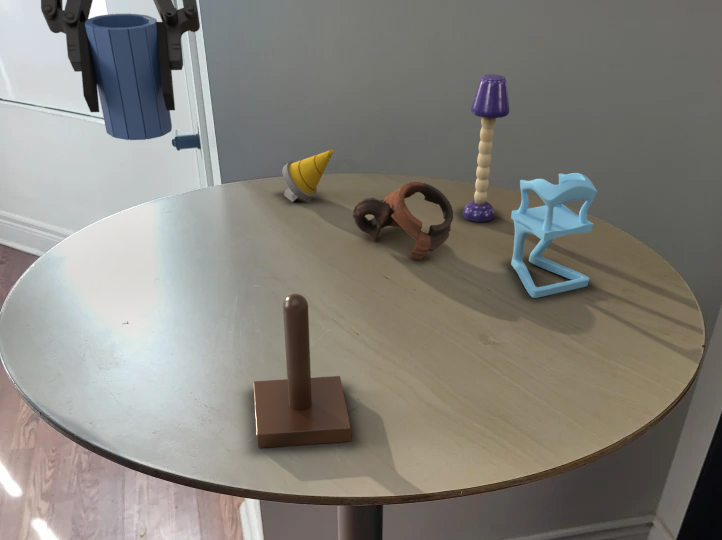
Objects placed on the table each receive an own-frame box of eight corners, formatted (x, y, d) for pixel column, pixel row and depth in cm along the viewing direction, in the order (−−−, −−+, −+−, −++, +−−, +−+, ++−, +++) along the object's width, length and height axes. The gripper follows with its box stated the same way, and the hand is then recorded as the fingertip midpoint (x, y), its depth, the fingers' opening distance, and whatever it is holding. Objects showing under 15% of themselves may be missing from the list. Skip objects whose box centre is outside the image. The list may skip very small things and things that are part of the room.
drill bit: (296, 189, 110) (345, 144, 104) (300, 218, 108) (351, 175, 102) (267, 170, 106) (316, 123, 100) (270, 201, 104) (321, 155, 98)
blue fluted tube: (104, 141, 72) (81, 29, 65) (110, 120, 76) (89, 13, 70) (170, 139, 72) (154, 28, 66) (172, 118, 77) (157, 13, 71)
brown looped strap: (421, 225, 102) (450, 179, 95) (435, 284, 98) (467, 241, 92) (336, 212, 96) (361, 162, 90) (349, 274, 93) (375, 228, 86)
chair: (547, 256, 95) (566, 154, 87) (589, 286, 89) (613, 180, 81) (494, 267, 92) (508, 163, 84) (533, 298, 87) (552, 191, 79)
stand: (258, 448, 66) (245, 323, 58) (254, 394, 72) (242, 274, 64) (351, 441, 67) (351, 318, 59) (340, 388, 73) (339, 269, 65)
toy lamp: (453, 212, 104) (466, 74, 93) (480, 205, 106) (496, 69, 94) (475, 225, 101) (491, 84, 90) (503, 217, 103) (522, 79, 92)
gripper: (217, -113, 75) (239, 122, 74) (11, -116, 72) (32, 127, 72) (211, -184, 67) (236, 76, 67) (-19, -190, 65) (4, 81, 64)
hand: (130, 102), depth 69 cm, fingers closed on blue fluted tube, 6 cm apart
